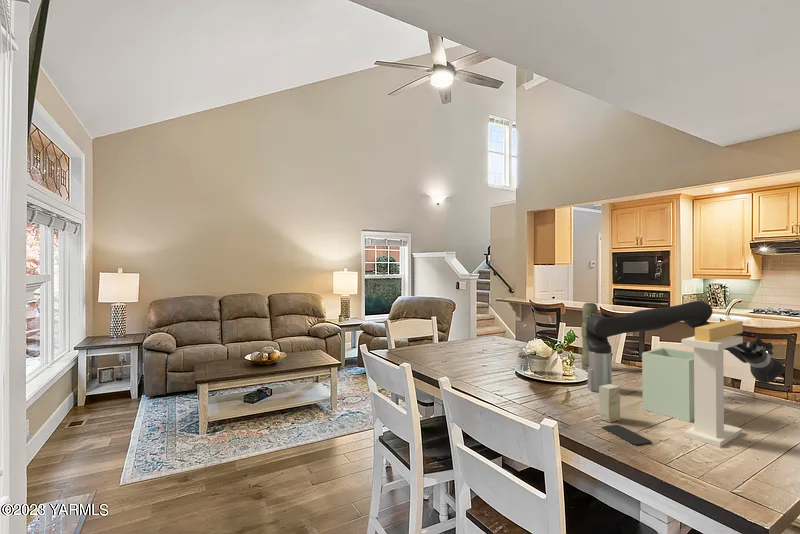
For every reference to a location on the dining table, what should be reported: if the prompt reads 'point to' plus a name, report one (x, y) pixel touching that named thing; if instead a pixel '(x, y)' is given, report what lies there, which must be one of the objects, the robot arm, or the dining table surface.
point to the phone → (627, 435)
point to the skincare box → (609, 402)
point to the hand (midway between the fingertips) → (741, 337)
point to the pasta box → (718, 330)
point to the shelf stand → (710, 391)
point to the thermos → (588, 311)
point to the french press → (523, 356)
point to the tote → (668, 383)
